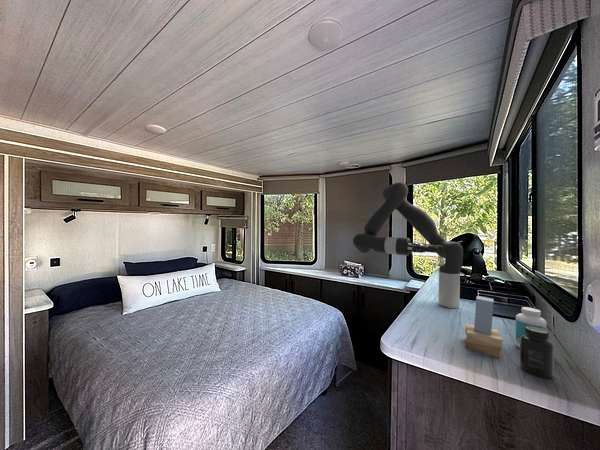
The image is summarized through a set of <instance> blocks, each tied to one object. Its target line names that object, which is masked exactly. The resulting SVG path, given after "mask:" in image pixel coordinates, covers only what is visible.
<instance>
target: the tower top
mask: <svg viewBox="0 0 600 450" xmlns="http://www.w3.org/2000/svg"><path fill="white" fill-rule="evenodd" d="M464 327H465V328H464V332H465V336H466V337H467V341H468V342H472V343H476V344H481V345H485V346H489V347H494V348H498V349H500V350H503V341H504V340H503V338H502V336H501V334H500V332H499V330H498V329H497V328H492V329H491V335H489V334H485V333H482V332H478V331H474V324H473V323H472V324H471V323H467V322H466V323H465V325H464ZM466 337H465V338H466Z"/></svg>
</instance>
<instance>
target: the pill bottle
mask: <svg viewBox="0 0 600 450" xmlns="http://www.w3.org/2000/svg"><path fill="white" fill-rule="evenodd" d="M541 315H542V311H541V310H540V309H537V308H533V307H528V306H527V307H525V306H524V307H523V306H522V307H521V313H518V314H516V315H515V334H514V335H515V337H514V338H515V341H514V342H515V346H516V347H518V348H519V349H520V337H521V336H523V335H526V334H525V326H533V327H538V328H541V329H544V330H546V331H548V330H547V325H548V323H547V321H546V319H545V318H543V317H541Z"/></svg>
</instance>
